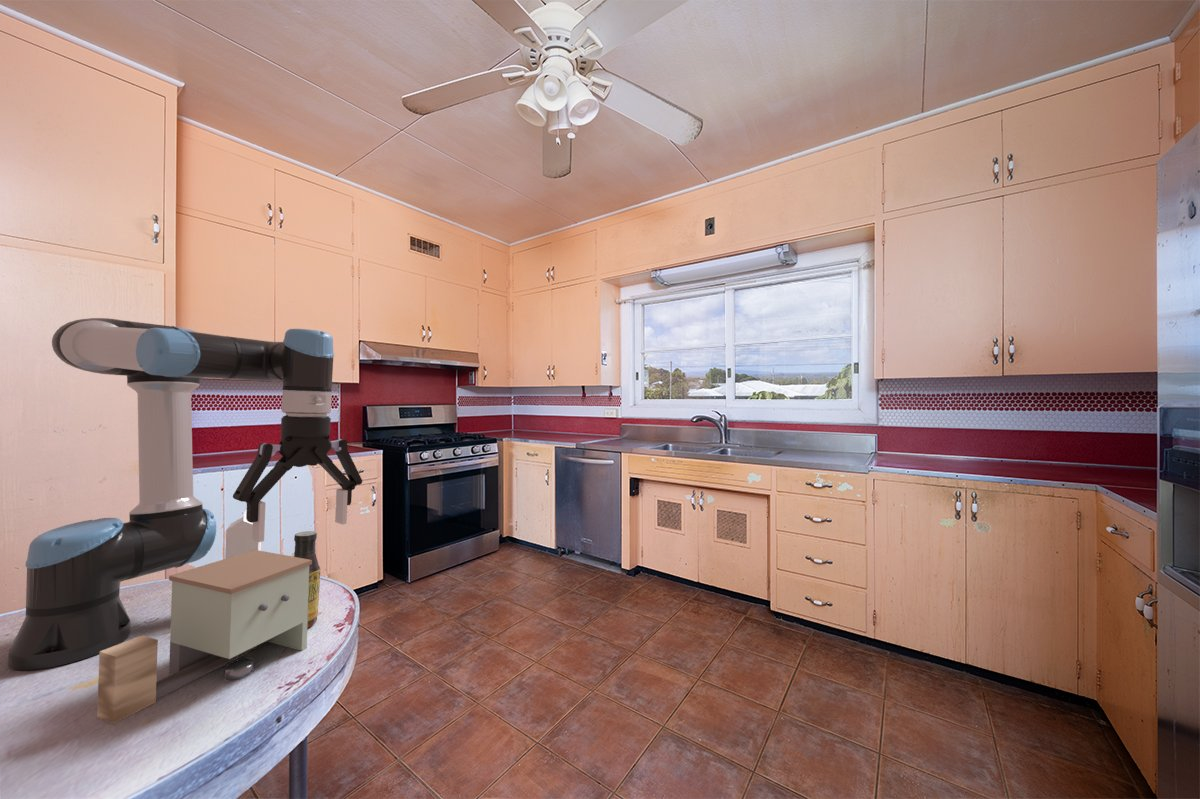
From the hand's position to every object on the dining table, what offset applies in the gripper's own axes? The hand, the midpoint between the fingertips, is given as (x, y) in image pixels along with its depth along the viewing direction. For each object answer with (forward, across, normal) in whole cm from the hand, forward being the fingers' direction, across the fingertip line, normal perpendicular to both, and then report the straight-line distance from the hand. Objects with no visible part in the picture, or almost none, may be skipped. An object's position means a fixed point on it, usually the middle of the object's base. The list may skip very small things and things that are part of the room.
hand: (302, 531), depth 81 cm
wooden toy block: (+25, -12, +12) cm, 30 cm away
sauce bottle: (+26, +8, +16) cm, 31 cm away
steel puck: (+25, -6, +6) cm, 27 cm away
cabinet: (+25, -5, +11) cm, 28 cm away
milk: (+26, +4, +37) cm, 45 cm away
